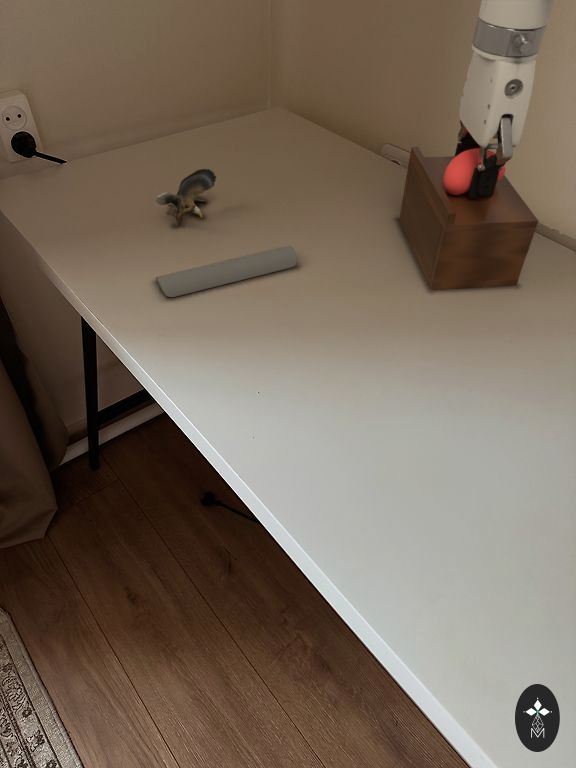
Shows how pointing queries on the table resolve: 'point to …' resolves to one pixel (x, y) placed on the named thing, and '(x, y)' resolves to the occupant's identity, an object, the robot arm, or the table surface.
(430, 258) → the wooden box with backboard
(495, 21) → the robot arm
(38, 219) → the table surface
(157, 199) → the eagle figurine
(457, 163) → the stress ball
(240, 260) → the gray half cylinder
